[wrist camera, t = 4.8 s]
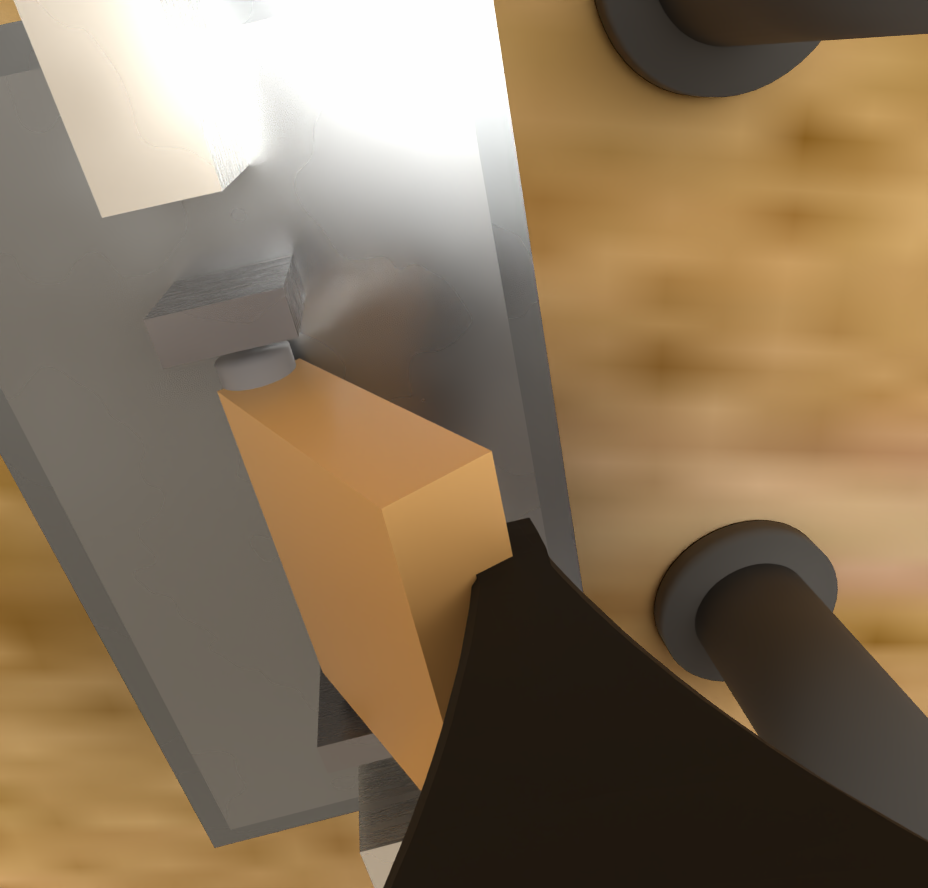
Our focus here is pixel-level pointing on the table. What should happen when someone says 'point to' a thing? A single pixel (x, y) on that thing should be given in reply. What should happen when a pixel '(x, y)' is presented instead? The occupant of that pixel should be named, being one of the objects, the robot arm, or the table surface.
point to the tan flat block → (369, 535)
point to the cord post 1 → (742, 37)
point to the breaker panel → (253, 339)
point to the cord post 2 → (796, 663)
